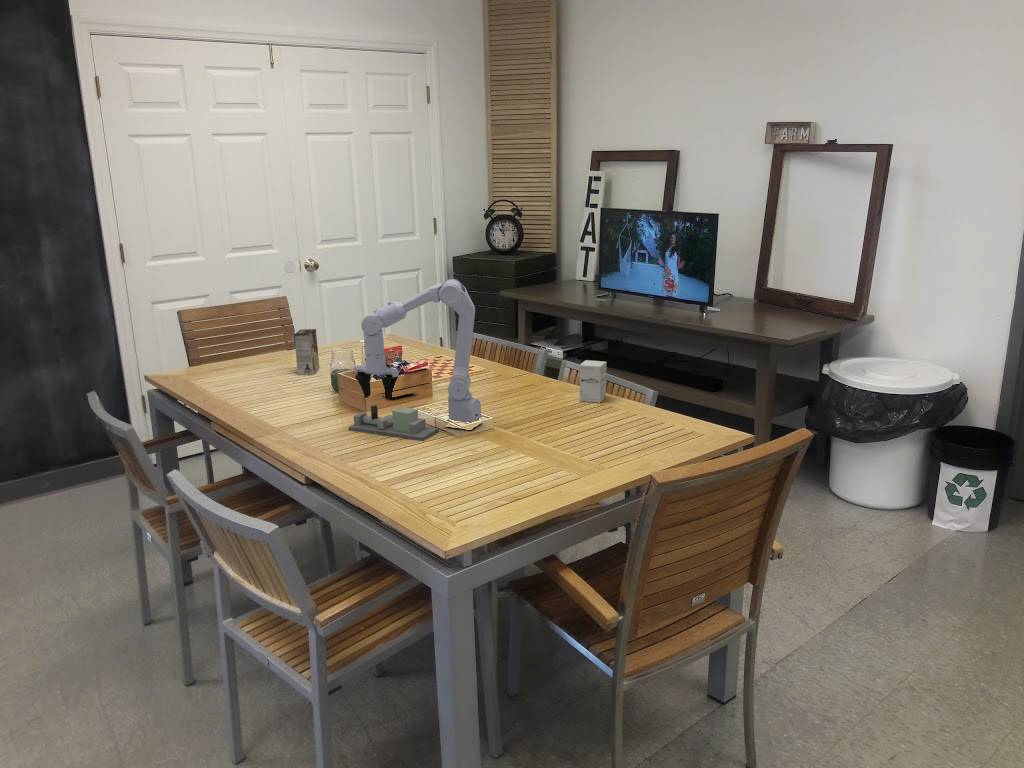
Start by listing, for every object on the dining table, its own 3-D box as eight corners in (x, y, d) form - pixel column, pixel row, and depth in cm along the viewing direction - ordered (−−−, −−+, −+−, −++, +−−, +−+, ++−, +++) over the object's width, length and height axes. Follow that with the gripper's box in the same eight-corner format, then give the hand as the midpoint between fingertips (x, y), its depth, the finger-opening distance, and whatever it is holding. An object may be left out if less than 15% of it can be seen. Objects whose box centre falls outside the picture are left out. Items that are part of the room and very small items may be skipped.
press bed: (438, 431, 243) (438, 418, 242) (422, 440, 236) (422, 427, 235) (366, 421, 254) (365, 409, 253) (349, 430, 246) (348, 417, 245)
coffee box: (303, 369, 319) (299, 329, 315) (320, 369, 319) (316, 328, 315) (297, 375, 310) (293, 334, 306) (314, 375, 310) (310, 333, 306)
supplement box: (578, 401, 270) (578, 364, 266) (585, 395, 276) (585, 359, 273) (600, 403, 267) (600, 366, 263) (606, 397, 273) (606, 360, 270)
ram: (394, 423, 248) (393, 405, 246) (383, 429, 243) (382, 410, 241) (369, 419, 252) (368, 402, 250) (358, 425, 246) (357, 407, 245)
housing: (418, 428, 244) (417, 409, 242) (410, 432, 240) (409, 413, 238) (401, 425, 246) (400, 406, 244) (393, 430, 242) (392, 411, 240)
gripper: (402, 352, 243) (405, 396, 247) (362, 349, 249) (365, 391, 253) (389, 358, 237) (392, 402, 241) (348, 354, 243) (352, 397, 247)
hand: (378, 397), depth 246 cm, fingers open, 7 cm apart
